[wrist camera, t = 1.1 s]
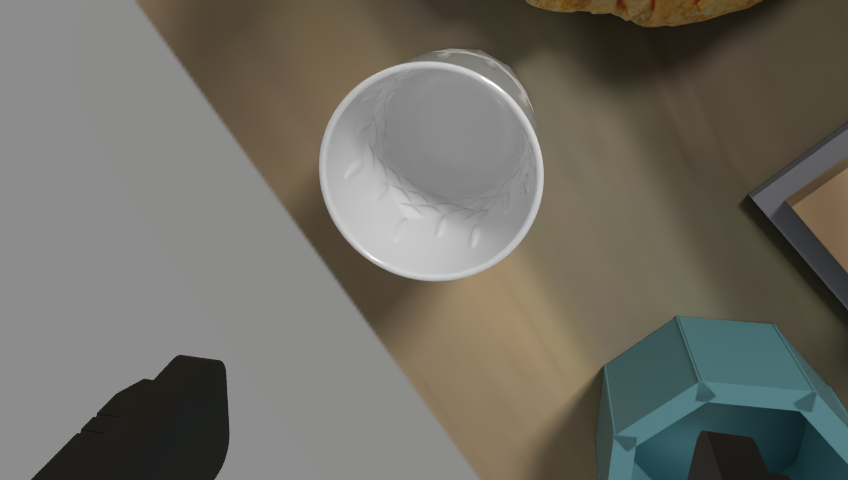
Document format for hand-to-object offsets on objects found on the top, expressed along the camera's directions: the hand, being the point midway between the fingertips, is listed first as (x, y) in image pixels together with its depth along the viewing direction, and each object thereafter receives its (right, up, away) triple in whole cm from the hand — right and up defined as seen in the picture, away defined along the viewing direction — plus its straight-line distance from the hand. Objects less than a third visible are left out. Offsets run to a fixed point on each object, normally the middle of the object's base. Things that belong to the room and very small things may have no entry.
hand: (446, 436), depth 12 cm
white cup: (+1, +9, +22) cm, 24 cm away
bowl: (+14, -6, +25) cm, 30 cm away
